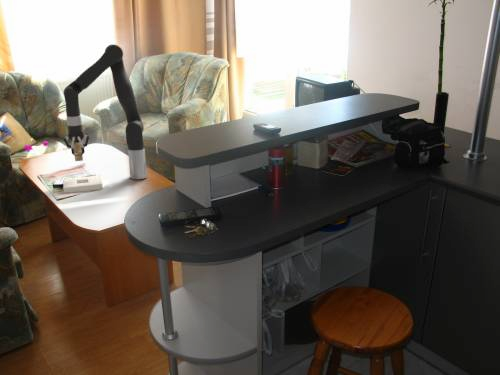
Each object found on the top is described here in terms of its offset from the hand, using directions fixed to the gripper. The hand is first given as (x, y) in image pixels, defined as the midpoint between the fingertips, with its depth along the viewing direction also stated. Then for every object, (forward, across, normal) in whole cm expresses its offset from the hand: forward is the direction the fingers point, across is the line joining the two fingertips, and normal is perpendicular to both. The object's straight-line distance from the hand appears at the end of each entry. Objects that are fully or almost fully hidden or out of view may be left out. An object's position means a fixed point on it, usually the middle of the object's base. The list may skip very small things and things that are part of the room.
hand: (78, 154), depth 274 cm
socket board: (+17, -1, +6) cm, 18 cm away
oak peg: (+3, 0, 0) cm, 3 cm away
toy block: (+17, +28, -72) cm, 79 cm away
